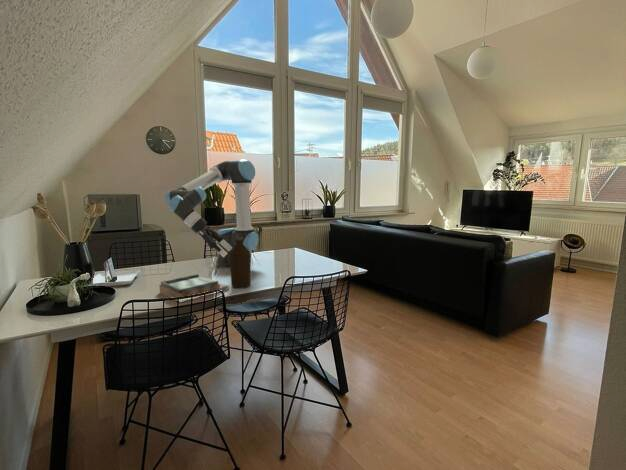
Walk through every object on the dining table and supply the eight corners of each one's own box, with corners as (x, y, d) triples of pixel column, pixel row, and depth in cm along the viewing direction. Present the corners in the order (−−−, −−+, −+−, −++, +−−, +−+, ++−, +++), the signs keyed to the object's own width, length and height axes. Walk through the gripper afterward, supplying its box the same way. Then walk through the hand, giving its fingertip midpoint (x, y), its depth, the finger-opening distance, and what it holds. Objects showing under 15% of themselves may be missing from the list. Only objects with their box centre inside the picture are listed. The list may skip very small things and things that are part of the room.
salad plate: (85, 290, 168) (84, 283, 168) (99, 278, 189) (98, 272, 188) (132, 286, 174) (132, 280, 173) (141, 275, 194) (140, 269, 194)
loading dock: (207, 281, 181) (206, 271, 180) (228, 289, 168) (228, 278, 167) (159, 292, 163) (159, 281, 162) (179, 302, 150) (179, 290, 149)
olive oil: (252, 288, 170) (251, 238, 166) (230, 289, 168) (228, 239, 164) (250, 282, 180) (249, 235, 177) (230, 283, 178) (228, 236, 174)
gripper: (197, 224, 179) (227, 252, 182) (182, 231, 155) (217, 263, 158) (207, 214, 179) (237, 242, 182) (194, 219, 154) (229, 252, 157)
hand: (228, 252), depth 170 cm, fingers open, 13 cm apart
